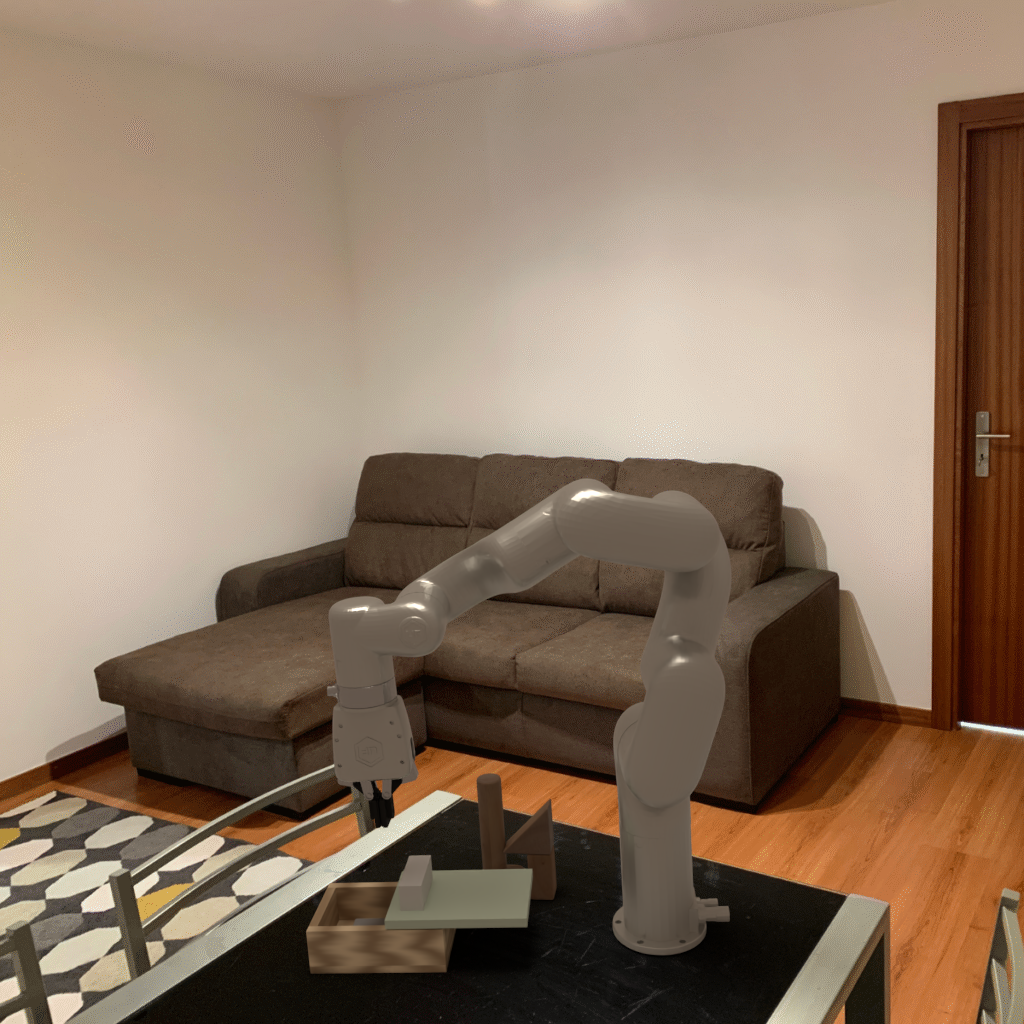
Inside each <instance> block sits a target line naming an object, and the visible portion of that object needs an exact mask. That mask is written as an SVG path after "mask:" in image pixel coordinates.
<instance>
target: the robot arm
mask: <svg viewBox="0 0 1024 1024" xmlns="http://www.w3.org/2000/svg"><path fill="white" fill-rule="evenodd" d="M580 556H582V557H585V558H589V559H592V560H598V561H604V562H608V563H613V564H619V565H625V566H631V567H639V568H644V569H645V568H646V569H652V570H658V571H664V578H663V584H662V585H663V586H662V590H661V595H660V598H659V602H658V607H657V610H656V613H655V615H654V619H653V622H652V626H651V629H650V632H649V635H648V639H647V641H646V642H645V643H646V644H645V647H644V648H643V651H642V655H641V658H640V663H639V672H640V677H641V681H642V684H643V686H644V689H645V695H644V699H643V701H640V702H637V703H634V704H632V705H631V706H629V707H627V708H626V710H625V711H623V712H622V714H621V715H620V717H618V719H617V721H616V724H615V727H614V729H613V730H614V732H613V737H612V738H613V740H612V741H613V742H612V745H613V747H612V748H613V758H614V760H613V761H614V768H615V779H616V787H617V788H616V791H617V802H618V803H617V805H618V808H617V809H618V831H619V851H620V870H621V871H620V872H621V891H622V893H621V894H622V906H621V907H620V908H619V909H618V910H617V911H615V914H614V915H613V918H612V930H613V934H614V936H615V938H616V940H617V941H619V942H620V943H621V944H622V945H623V946H625V947H626V948H629V949H630V950H632V951H635V952H639V953H641V954H646V955H650V956H651V955H652V956H672V955H679V954H681V953H684V952H687V951H690V950H692V949H694V948H695V947H697V946H698V945H699V944H701V942H702V941H703V940H704V939H705V937H706V934H707V922H718V923H719V922H722V923H723V922H730V920H731V918H730V915H731V913H730V908H729V907H730V906H729V905H723V906H721V905H720V906H719V901H718V898H716V897H715V898H700V896H696V891H695V890H696V889H695V887H694V878H693V877H694V876H693V873H694V871H693V853H692V852H693V849H692V816H691V815H692V812H691V811H692V809H691V794H692V793H693V792H694V791H695V789H696V788H697V786H698V784H699V783H700V780H701V778H702V775H703V772H704V770H705V766H706V764H707V760H708V757H709V755H710V754H709V753H710V751H711V749H712V745H713V742H714V739H715V736H716V733H717V729H718V728H719V727H718V726H719V723H720V721H721V720H720V719H721V717H722V714H723V709H724V705H725V700H726V681H725V675H724V673H723V670H722V667H721V666H720V664H719V663H718V661H717V659H716V651H717V645H718V642H719V638H720V635H721V632H722V628H723V624H724V620H725V617H726V614H727V609H728V605H729V601H730V595H731V590H732V565H731V564H732V563H731V558H730V553H729V550H728V546H727V544H726V540H725V538H724V536H723V533H722V531H721V529H720V527H719V523H718V521H717V520H716V518H715V516H714V515H713V514H712V512H711V511H710V510H709V509H707V508H706V507H705V506H704V505H703V504H702V503H701V502H700V501H699V500H698V499H696V498H695V497H693V496H692V495H691V494H689V493H687V492H684V491H681V490H673V489H672V490H666V491H665V490H664V491H662V492H659V493H657V494H656V495H654V496H653V497H646V496H640V495H634V494H628V493H623V492H619V491H614V490H612V489H611V488H610V487H609V486H608V485H607V484H605V483H603V482H602V481H600V480H597V479H594V478H587V477H586V478H580V479H577V480H574V481H571V482H570V483H568V484H566V485H564V486H562V487H561V488H559V489H558V490H557V491H555V492H553V493H552V494H550V495H548V496H547V497H546V498H544V499H543V500H541V501H539V502H538V503H536V504H535V505H534V506H532V507H531V508H528V509H527V510H526V511H525V512H523V513H522V514H521V513H520V515H518V516H517V517H516V518H514V519H512V520H511V521H509V522H508V523H506V524H504V525H503V526H501V527H499V528H498V529H496V530H495V531H493V532H492V533H490V534H489V535H487V536H485V537H483V538H481V539H479V540H478V541H476V542H474V544H472V545H470V546H468V547H466V548H465V549H462V550H460V551H459V552H457V553H455V554H453V555H452V556H450V557H449V558H447V559H446V560H444V561H442V562H440V563H439V564H437V566H434V567H433V568H432V569H430V570H428V571H427V572H425V573H423V574H422V575H420V576H419V577H418V578H416V579H415V580H413V581H412V582H410V583H409V584H408V585H407V586H405V588H403V589H402V590H401V591H400V592H399V594H398V596H397V597H396V599H395V601H394V602H392V603H385V602H384V601H383V600H382V599H380V598H378V597H375V596H368V595H365V596H364V595H363V596H353V597H349V598H348V597H347V598H345V599H342V600H339V601H337V602H335V603H334V604H332V606H331V607H330V608H329V610H328V626H329V632H330V633H329V634H330V640H331V649H332V654H333V655H332V656H333V663H334V672H335V678H336V680H335V681H336V682H335V683H334V684H333V685H327V686H326V687H327V688H326V694H327V695H326V696H328V697H334V698H336V700H337V703H336V704H335V705H334V706H333V711H332V751H333V752H332V753H333V767H334V773H335V776H336V778H337V783H338V784H339V785H340V786H344V787H345V786H346V787H353V788H355V789H356V790H357V791H358V792H360V793H361V794H362V795H363V797H364V799H365V800H367V802H368V809H369V816H370V820H374V827H375V829H380V828H381V827H382V828H383V829H385V828H389V825H390V823H391V821H392V819H394V818H395V815H396V814H395V812H396V811H395V810H396V809H395V802H394V793H395V792H396V791H397V789H398V788H399V787H400V786H401V785H403V784H407V783H410V782H414V781H416V780H417V779H418V777H419V773H420V772H419V771H418V767H417V764H416V750H415V742H414V737H413V733H412V732H413V731H412V727H411V723H410V718H409V715H408V712H407V709H406V706H405V703H404V699H403V697H402V696H401V695H399V694H398V691H397V684H396V677H395V676H396V675H395V667H394V660H393V656H394V657H406V658H418V657H419V658H420V657H425V656H426V655H430V654H431V653H433V652H435V651H436V650H438V648H439V647H440V646H441V644H442V643H443V640H444V639H445V634H446V630H447V627H448V624H449V623H450V622H452V621H454V620H455V619H456V618H458V617H459V616H461V615H462V614H464V613H466V612H467V611H469V610H470V609H472V608H474V607H475V606H477V605H478V604H480V603H481V602H484V601H486V600H487V599H490V598H493V597H495V596H498V595H502V594H503V595H504V594H517V593H521V592H524V591H527V590H529V589H530V588H532V587H534V586H535V585H537V584H538V583H541V581H543V580H544V579H547V578H548V577H549V576H551V574H553V573H555V572H556V571H558V570H559V569H561V568H562V567H564V566H566V565H568V564H569V563H570V562H572V561H574V560H575V559H577V558H579V557H580ZM377 781H378V782H379V781H381V782H382V783H381V789H380V788H378V782H377Z"/></svg>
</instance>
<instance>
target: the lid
mask: <svg viewBox="0 0 1024 1024" xmlns="http://www.w3.org/2000/svg"><path fill="white" fill-rule="evenodd" d="M432 865H433V863H432V855H431V854H426V855H425V854H423V855H409V856H408V858H407V862H406V864H405V867H404V869H403V871H401V873H400V876H399V878H398V879H399V880H398V881H397V882H398V884H397V887H396V890H395V893H394V896H393V898H392V901H391V904H390V907H389V909H388V912H387V915H386V918H385V929H434V928H456V929H487V928H489V929H490V928H493V929H495V928H498V929H499V928H502V929H503V928H528V924H529V923H528V922H529V915H530V907H531V906H530V905H531V899H530V898H531V889H532V880H533V871H532V869H528V868H525V869H492V870H483V869H458V870H457V869H453V870H450V869H449V870H441V869H440V870H433V866H432Z"/></svg>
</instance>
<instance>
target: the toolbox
mask: <svg viewBox="0 0 1024 1024" xmlns="http://www.w3.org/2000/svg"><path fill="white" fill-rule="evenodd" d="M398 882H399V881H384V882H383V881H382V882H380V881H379V882H369V881H368V882H333V883H332V882H329V884H328V886H327V888H326V890H325V892H324V894H323V897H322V898H321V900H320V902H319V904H318V906H317V909H316V910H315V913H314V915H313V917H312V919H311V921H310V923H309V925H308V927H307V929H306V931H305V933H306V934H305V935H306V943H307V952H308V961H309V971H310V974H311V975H313V974H314V975H315V974H317V975H320V974H384V973H385V974H389V973H391V974H394V973H396V974H397V973H398V974H399V973H400V974H404V973H410V974H411V973H412V974H414V973H416V974H417V973H447V971H448V967H449V963H450V957H451V953H452V948H453V944H454V940H455V936H456V933H457V928H434V929H385V918H386V915H387V912H388V909H389V907H390V904H391V901H392V898H393V896H394V893H395V890H396V887H397V884H398Z"/></svg>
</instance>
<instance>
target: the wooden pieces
mask: <svg viewBox="0 0 1024 1024" xmlns="http://www.w3.org/2000/svg"><path fill="white" fill-rule="evenodd" d="M502 788H503V787H502V777H501V775H499V774H498V773H491V772H490V773H484V774H481V775H479V776H477V778H476V792H477V793H476V795H477V807H478V819H479V821H478V822H479V835H480V847H481V849H480V850H481V860H482V870H492V869H526V868H525V867H523V865H519V864H508V861H507V854H522V855H523V854H524V855H526V859H527V860H526V861H527V869H532V871H533V880H532V889H531V898H530V900H535V901H536V900H537V901H539V900H542V901H553V900H554V899H555V895H556V891H557V870H556V855H555V852H556V851H555V845H554V844H555V840H554V838H555V837H554V824H553V809H552V807H553V806H552V799H551V798H549V799H548V800H547V801H546V802H545V803H544V804H543V805H542V806H541V807H540V808H538V810H537V811H536V812H535V813H534V814H533V815H532V816H531V817H530V818H529V819H528V820H527V821H526V822H525V823H523V825H522V826H521V827H520V828H519V829H517V831H516V832H515V833H513V835H512V836H511V837H509V839H507V840H506V835H505V834H506V833H505V831H506V830H505V819H504V805H503V804H504V802H503V791H502V790H503V789H502Z"/></svg>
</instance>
